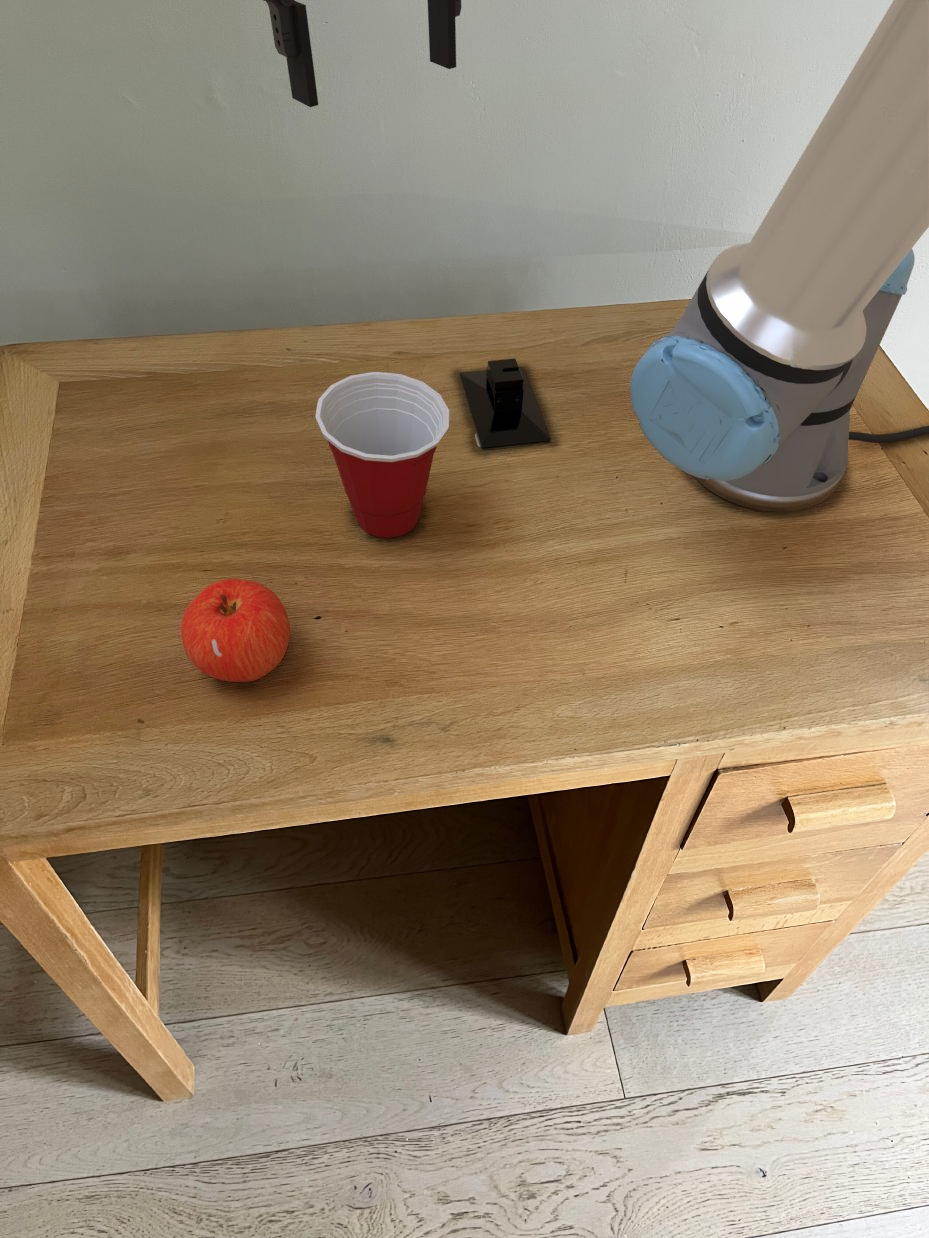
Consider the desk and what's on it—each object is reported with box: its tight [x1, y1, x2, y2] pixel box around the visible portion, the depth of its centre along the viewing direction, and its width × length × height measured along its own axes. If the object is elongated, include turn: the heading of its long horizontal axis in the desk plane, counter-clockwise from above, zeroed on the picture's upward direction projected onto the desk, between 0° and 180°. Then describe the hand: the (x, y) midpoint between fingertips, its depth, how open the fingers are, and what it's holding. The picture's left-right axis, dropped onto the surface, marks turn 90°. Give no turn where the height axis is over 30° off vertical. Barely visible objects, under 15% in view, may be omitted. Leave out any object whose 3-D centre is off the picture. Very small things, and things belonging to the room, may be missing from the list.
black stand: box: [458, 358, 551, 451], centre depth 87 cm, size 12×7×5 cm, turn 11°
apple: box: [180, 578, 291, 683], centre depth 65 cm, size 8×8×8 cm
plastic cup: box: [315, 371, 450, 538], centre depth 73 cm, size 11×11×12 cm
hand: (376, 83), depth 70 cm, fingers open, 13 cm apart
